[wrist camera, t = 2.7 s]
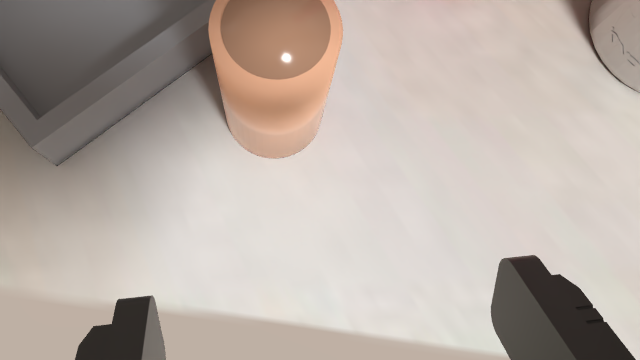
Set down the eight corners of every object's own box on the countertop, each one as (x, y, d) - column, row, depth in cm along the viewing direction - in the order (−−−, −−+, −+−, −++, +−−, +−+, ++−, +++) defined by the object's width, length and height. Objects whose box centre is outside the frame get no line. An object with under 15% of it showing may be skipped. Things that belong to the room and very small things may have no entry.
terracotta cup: (280, 50, 34) (284, -56, 24) (340, 119, 34) (370, 37, 24) (206, 105, 33) (180, 16, 23) (267, 177, 32) (267, 117, 23)
